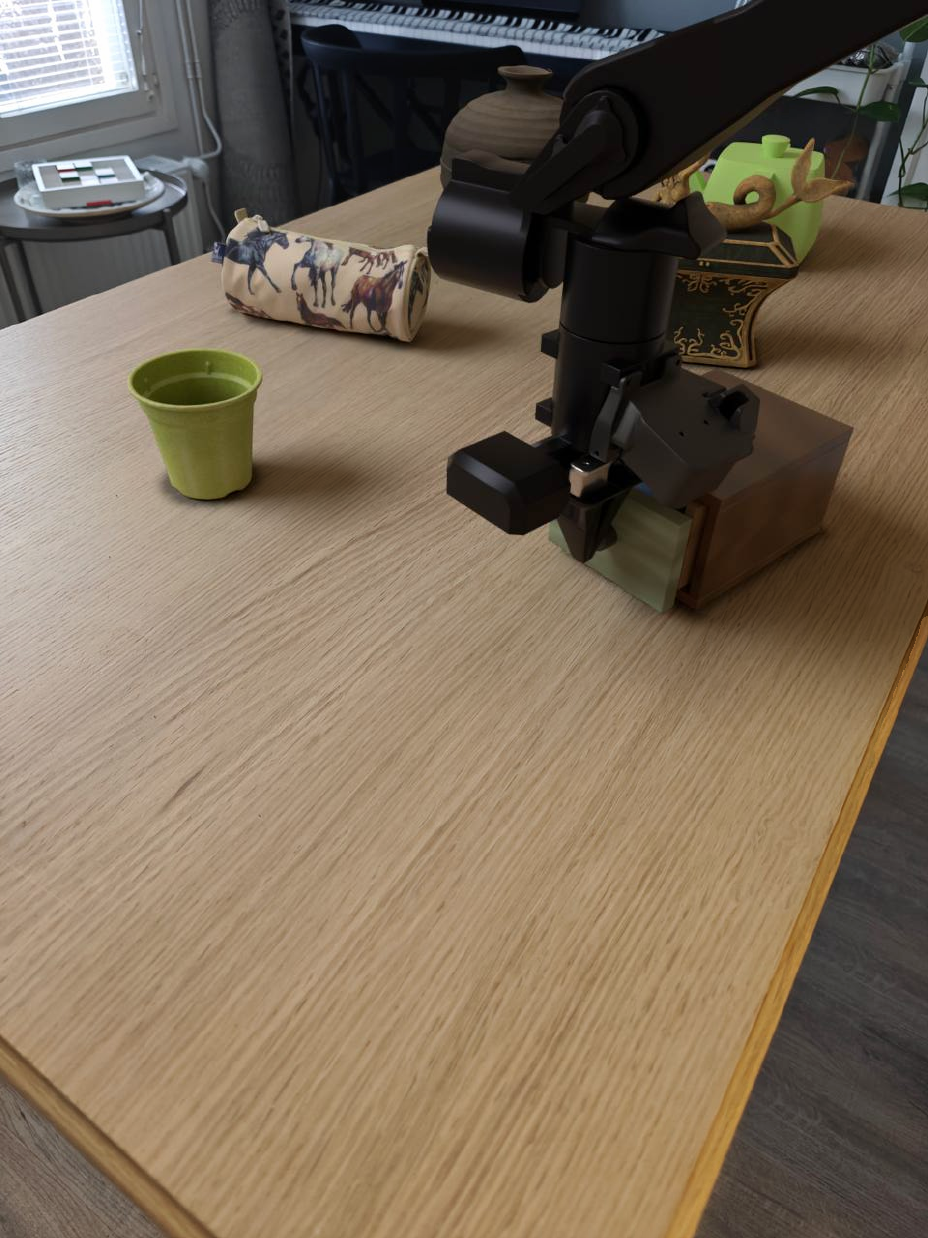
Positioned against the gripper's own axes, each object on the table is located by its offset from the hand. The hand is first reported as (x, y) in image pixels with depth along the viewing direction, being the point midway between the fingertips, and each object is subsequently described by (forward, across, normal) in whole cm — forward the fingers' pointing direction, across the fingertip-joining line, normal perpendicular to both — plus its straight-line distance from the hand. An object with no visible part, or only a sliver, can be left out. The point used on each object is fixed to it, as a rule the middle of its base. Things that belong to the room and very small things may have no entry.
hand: (581, 558), depth 59 cm
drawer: (+3, +9, 0) cm, 9 cm away
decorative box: (+4, +39, +20) cm, 44 cm away
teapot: (+4, +66, +36) cm, 75 cm away
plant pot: (+4, -11, +28) cm, 30 cm away
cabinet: (+4, +13, 0) cm, 13 cm away
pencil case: (+4, +13, +47) cm, 49 cm away
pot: (+4, +43, +52) cm, 67 cm away
